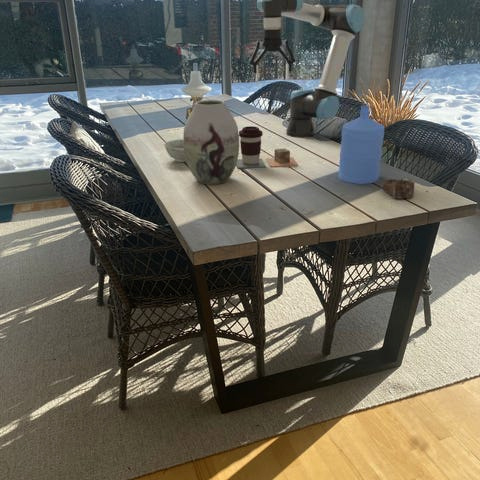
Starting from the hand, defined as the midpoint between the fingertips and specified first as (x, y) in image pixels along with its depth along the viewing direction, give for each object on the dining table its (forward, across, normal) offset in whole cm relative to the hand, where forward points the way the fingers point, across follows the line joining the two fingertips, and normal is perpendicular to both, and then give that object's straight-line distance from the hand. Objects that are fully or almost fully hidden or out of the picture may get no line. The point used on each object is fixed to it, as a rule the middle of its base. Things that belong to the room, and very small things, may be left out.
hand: (272, 80), depth 218 cm
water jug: (+32, -26, +48) cm, 63 cm away
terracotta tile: (+32, 0, +22) cm, 39 cm away
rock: (+33, -34, +71) cm, 85 cm away
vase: (+31, +31, +41) cm, 60 cm away
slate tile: (+31, +14, +22) cm, 41 cm away
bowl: (+31, +42, +10) cm, 54 cm away
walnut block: (+31, -1, +22) cm, 38 cm away
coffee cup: (+31, +13, +22) cm, 40 cm away
